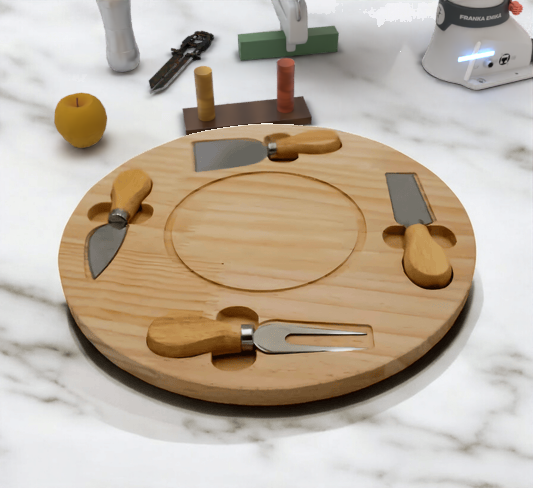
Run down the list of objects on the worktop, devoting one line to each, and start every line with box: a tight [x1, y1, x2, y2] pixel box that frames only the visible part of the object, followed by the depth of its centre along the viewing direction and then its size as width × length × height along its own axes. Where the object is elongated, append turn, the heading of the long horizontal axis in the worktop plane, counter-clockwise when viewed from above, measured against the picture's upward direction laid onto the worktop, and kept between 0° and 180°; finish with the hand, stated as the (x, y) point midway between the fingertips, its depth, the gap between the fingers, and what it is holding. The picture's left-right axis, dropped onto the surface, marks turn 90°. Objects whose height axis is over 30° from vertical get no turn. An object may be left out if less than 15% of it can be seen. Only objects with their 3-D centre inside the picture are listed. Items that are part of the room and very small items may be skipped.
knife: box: [148, 30, 215, 95], centre depth 130 cm, size 25×6×1 cm, turn 154°
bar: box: [237, 25, 340, 61], centre depth 132 cm, size 20×4×4 cm, turn 100°
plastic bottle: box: [95, 0, 141, 73], centre depth 123 cm, size 6×7×20 cm
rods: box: [182, 57, 313, 136], centre depth 112 cm, size 22×7×10 cm, turn 100°
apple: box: [53, 92, 108, 149], centre depth 108 cm, size 8×8×9 cm
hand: (288, 44), depth 132 cm, fingers closed on bar, 3 cm apart
